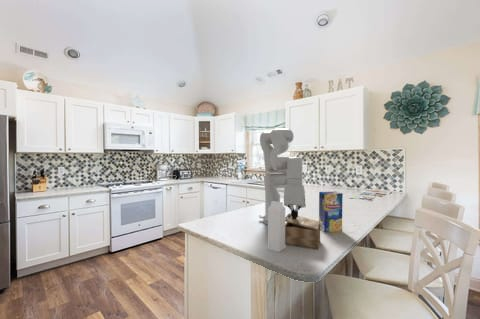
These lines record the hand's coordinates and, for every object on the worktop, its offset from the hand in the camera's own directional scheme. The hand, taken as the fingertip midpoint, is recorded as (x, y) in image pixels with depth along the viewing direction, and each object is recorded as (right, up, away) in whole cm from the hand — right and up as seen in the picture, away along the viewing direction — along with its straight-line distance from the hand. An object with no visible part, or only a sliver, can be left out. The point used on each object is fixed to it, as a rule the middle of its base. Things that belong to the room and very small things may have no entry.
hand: (294, 218), depth 114 cm
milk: (-10, -12, -8) cm, 18 cm away
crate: (+4, -12, -1) cm, 13 cm away
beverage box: (+26, -12, +20) cm, 35 cm away
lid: (+4, -2, -1) cm, 4 cm away
